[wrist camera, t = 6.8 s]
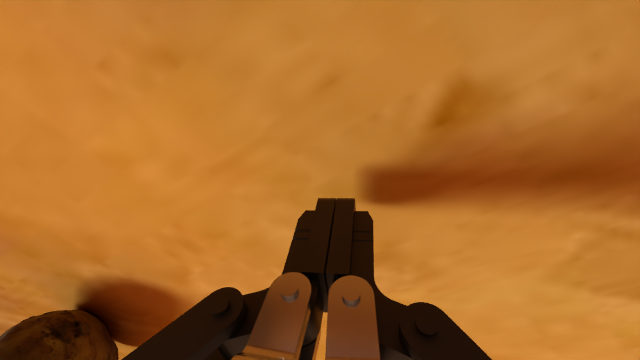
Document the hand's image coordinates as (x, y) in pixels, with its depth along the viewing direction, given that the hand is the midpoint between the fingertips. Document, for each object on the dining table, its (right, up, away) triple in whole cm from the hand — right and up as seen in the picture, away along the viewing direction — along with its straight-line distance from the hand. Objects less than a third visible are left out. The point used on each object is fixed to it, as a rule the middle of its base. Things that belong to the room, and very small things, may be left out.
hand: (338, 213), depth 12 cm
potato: (-22, -11, +15) cm, 28 cm away
